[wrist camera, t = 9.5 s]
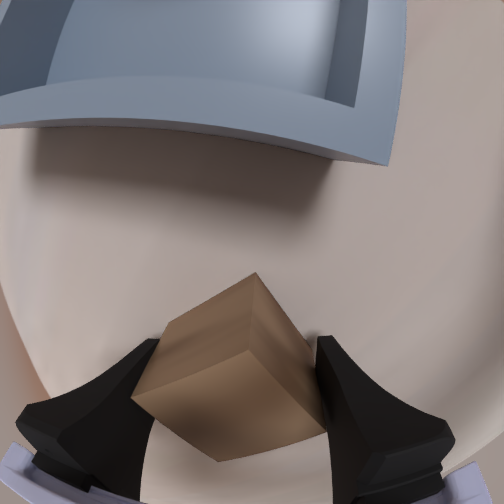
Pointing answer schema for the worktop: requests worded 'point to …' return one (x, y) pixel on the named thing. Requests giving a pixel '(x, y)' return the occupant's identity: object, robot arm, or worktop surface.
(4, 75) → the slate tote
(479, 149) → the worktop surface
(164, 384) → the walnut block
